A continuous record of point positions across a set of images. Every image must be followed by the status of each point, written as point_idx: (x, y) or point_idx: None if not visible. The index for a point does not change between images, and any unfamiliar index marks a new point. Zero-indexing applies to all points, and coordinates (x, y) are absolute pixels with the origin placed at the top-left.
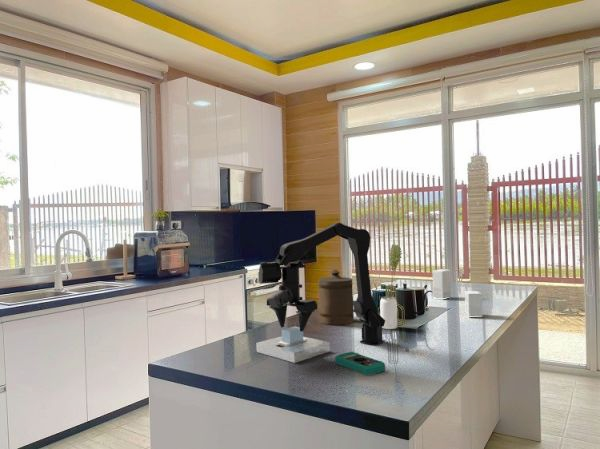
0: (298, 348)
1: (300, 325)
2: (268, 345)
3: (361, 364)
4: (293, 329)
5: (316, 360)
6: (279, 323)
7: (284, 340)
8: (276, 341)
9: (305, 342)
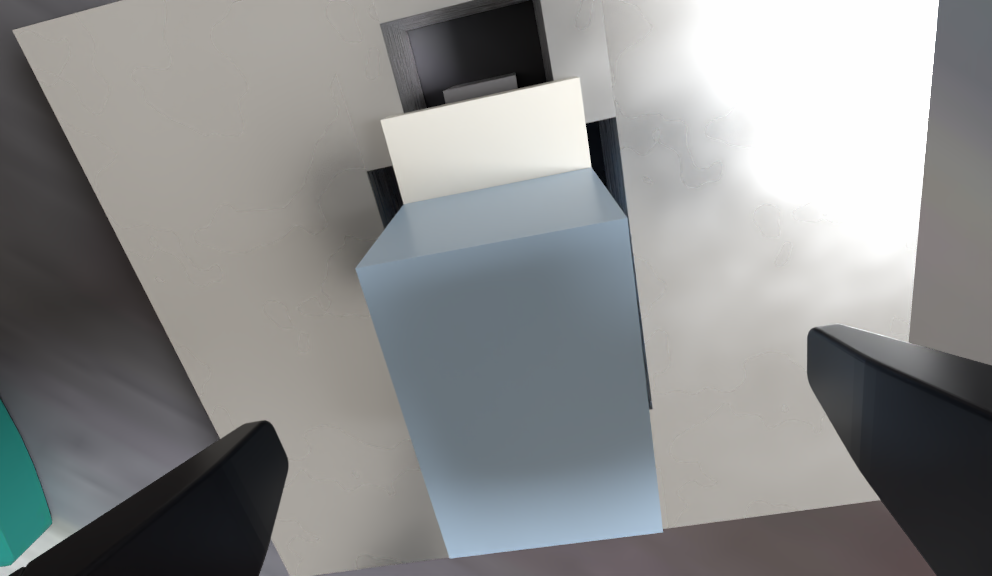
0: (212, 206)
1: (144, 495)
2: None
3: None
4: (466, 403)
5: (115, 280)
6: (918, 346)
7: (527, 183)
8: (736, 150)
9: None
